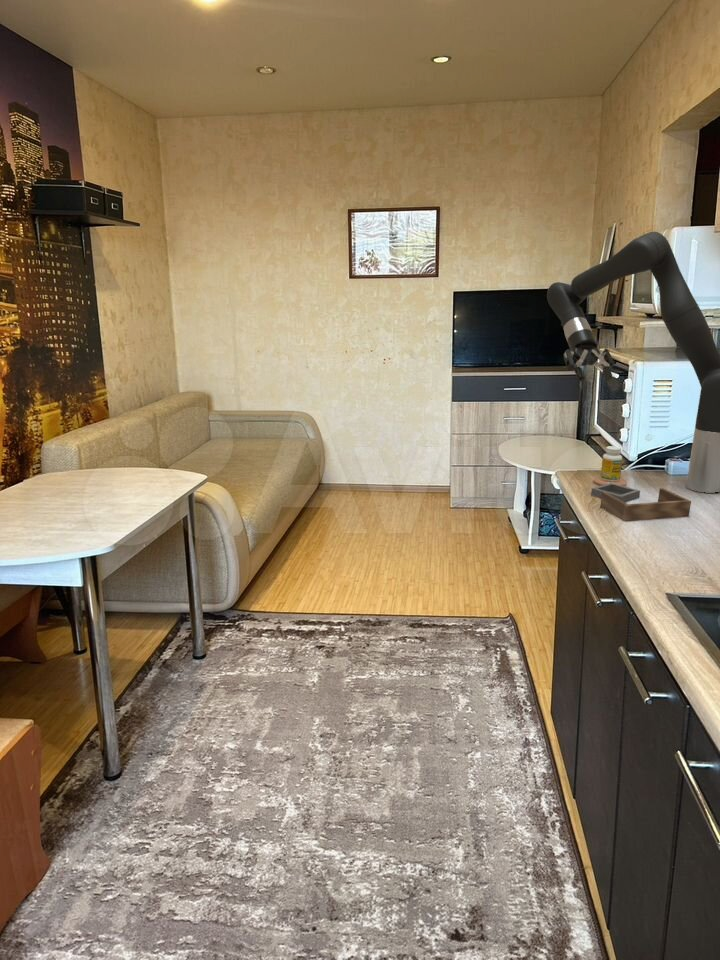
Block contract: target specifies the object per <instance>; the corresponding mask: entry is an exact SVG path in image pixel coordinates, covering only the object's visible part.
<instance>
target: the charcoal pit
mask: <svg viewBox="0 0 720 960" xmlns="http://www.w3.org/2000/svg"><path fill="white" fill-rule="evenodd" d="M602 492H606V493H608V494H610V495H612V496H614V497H616V498H618V499H619V500H621V501H623V502H625V503H627V502H630V501H631V502H632V501H634V500H636V499H639V498H640V494H641V490H639V489H635V488H632V487H628V486H621V485H617V484H613V483H608V484H605V485H601V486H599V485H597V486H596V487H592V488H591V492H590V493H591V494H590V496H593V497H595V496H596V498H598V497H599V498H600V499H601V496H602Z"/></svg>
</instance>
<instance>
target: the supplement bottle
mask: <svg viewBox="0 0 720 960" xmlns="http://www.w3.org/2000/svg"><path fill="white" fill-rule="evenodd" d="M621 451H622V447H620V446H615V445H614V446H613V445H610V446H609V445H608V446H606V447H605V452H606V453H604V454H602V460H601V469H600V470H601V471H600V476H601V479H602V480H603V481H607V482H617V481H619V480H620V478H621V473H622V466H623V456H622V455H621V453H622V452H621Z"/></svg>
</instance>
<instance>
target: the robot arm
mask: <svg viewBox="0 0 720 960" xmlns="http://www.w3.org/2000/svg"><path fill="white" fill-rule="evenodd" d="M647 271H650V272H651V274H652V275H653V277H654V279H655V281H656V283H657V287H658V290H659V304H660V305H659V307H660V314H661V318H662V321H663V323H664V326H665V327H666V329H667V331H668V333H669V335H670V336H671V338H672V339H673V340H674V342H675V344H676V345H677V347H678V348H679V350H680V351H681V352H682V353H683V354H684V355H685V357H686V359H687V360H688V362H689V363H690V364H691V367H692V368H693V369H694V372H695V374H696V377H697V380H698V383H699V384H700V387H701V388H700V394H699V398H698V399H699V400H698V407H697V413H696V418H695V426H694V431H693V438H692V443H691V444H692V445H691V453H690V457H689V464H688V465H689V466H688V472H687V477H686V483H685V484H686V485H685V487H686V488H687V489H689V490H692V491H695V492H698V493H704V492H705V493H704V494H716V493H715V492H719V493H720V352H719V350H718V347H717V345H716V342H715V339H714V337H713V334H712V331H711V329H710V327H709V324H708V322H707V320H706V318H705V316H704V314H703V312H702V310H701V308H700V306H699V304H698V302H697V301H696V299H695V297H694V296H693V294H692V292H691V290H690V288H689V286H688V284H687V282H686V280H685V278H684V276H683V274H682V272H681V269H680V267H679V265H678V262H677V259H676V257H675V254H674V252H673V248H672V246H671V245H670V242H669V240H668V239H667V238H666V236H664V234H662V233H661V232H658V231H649V232H647V233H645V234H643V235H640V236H638V237H635V238H634V239H632V240H631V241H630V242H629V243H627V244H626V245H625V246H624V247H622V249H620V250H619V251H617V252H616V254H614V255H612V257H610V258H608V259H607V260H605V261H603V262H601V263H598V264H597V265H596V264H595V266H592V267H590V268H588V269H586V270H584V271H583V272H581V273H579V274H577V275H576V276H575V277H573V279H572V280H571V283H570V284H569V283H564V282H560V281H559V282H558V281H556V282H553V283H552V284H550V286H549V287H548V289H547V291H546V292H547V293H546V299H547V302H548V303H547V304H549V306H550V308H551V309H552V310H553V313H555V315H556V316H557V317H558V319H559V320H560V323H561V325H562V328H563V331H564V337H565V339H566V342H567V344H568V347H569V348H568V349H566V350H565V351H564V353H563V355H562V356H563V360H564V362H565V365H566V369H567V370H568V371H573V372H574V373H575V376H576V379H577V380H578V381H579V382H582V383H583V382H584V381H585V379H586V375H585V373H584V370H583V368H582V365H583V366H587V365H589V366H594V367H595V368H596V369H597V368H599V370H601V371H602V375H603V377H604V379H605V382H609V381H611V379H612V378H613V373H612V371H611V369H612V368H613V367H614V365H615V361H614V359H613V356H612V354H611V353H610V350H609V349H608V348H604V350H599V348H598V346H597V341H596V338H595V336H594V333H593V330H592V328H591V325H590V324H589V322H588V321H587V318H586V315H585V313H584V310H583V308H582V307H581V306H580V304H581V303H582V302H583V301H585V300H586V298H587V297H588V296H591V295H593V294H595V293H597V292H599V291H601V290H603V289H604V288H606V287H607V286H609V285H610V284H611V283H614V282H616V281H617V280H620V279H622V278H626V277H628V276H631V275H634V274H638V273H643V272H647ZM574 359H575V360H576V362H574ZM597 361H598V362H597Z"/></svg>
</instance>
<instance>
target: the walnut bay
mask: <svg viewBox="0 0 720 960" xmlns="http://www.w3.org/2000/svg"><path fill="white" fill-rule="evenodd" d="M658 490H659V491H658V498H657V501H656V502H639V503H627V502H623V501H621V500H619V499H618V498H616V497H614V496H612V495H610V494H608V493H606V492H602V496H601V498H600V505H599V507H600V508H601V507H602V508H601V509H603V508H604V509H603V510H605V509H606V510H607V511H606V510H605V511H606V512H608V511H609V512H608V513H609V514H612V515H613V514H614V516H615V517H617V518H619V519H620V520H622V521H624V522H632V521H646V520H656V519H657V520H658V519H672V518H684V517H690V512H691V507H692V506H691V505H692V500H690V499H687V498H685V497H683V496H681V495H679V494H677V493H674V492H672V491H671V490H668V489H666V488H663V487H661V488H659V489H658Z"/></svg>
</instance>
